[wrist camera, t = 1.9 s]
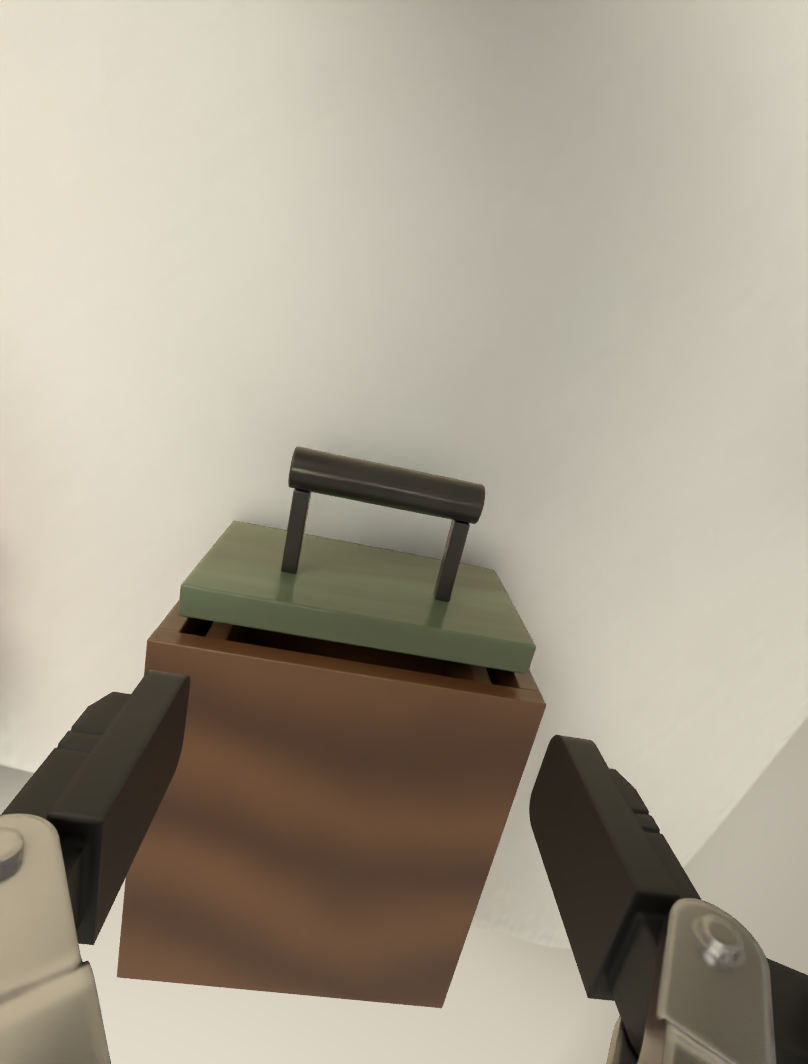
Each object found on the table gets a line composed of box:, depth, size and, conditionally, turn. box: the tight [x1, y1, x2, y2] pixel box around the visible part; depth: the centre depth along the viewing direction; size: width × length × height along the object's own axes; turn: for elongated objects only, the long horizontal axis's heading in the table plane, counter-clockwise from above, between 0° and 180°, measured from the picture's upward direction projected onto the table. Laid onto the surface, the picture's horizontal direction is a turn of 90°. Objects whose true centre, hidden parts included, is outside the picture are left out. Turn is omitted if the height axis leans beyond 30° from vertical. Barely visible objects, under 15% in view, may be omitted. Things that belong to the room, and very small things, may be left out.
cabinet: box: [117, 601, 546, 1008], centre depth 25 cm, size 16×14×9 cm
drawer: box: [178, 447, 536, 684], centre depth 24 cm, size 19×12×7 cm, turn 168°
